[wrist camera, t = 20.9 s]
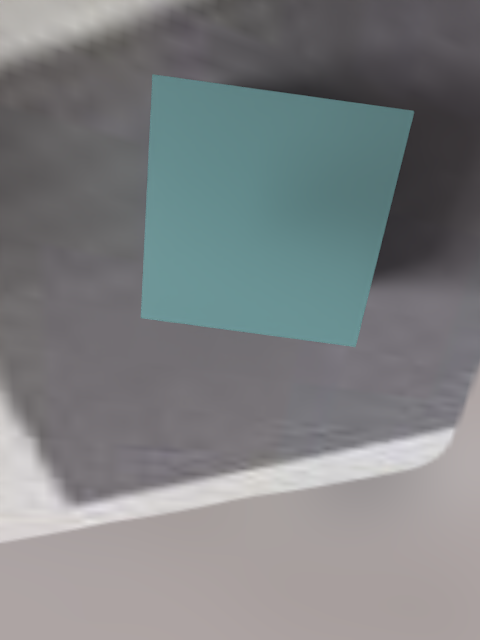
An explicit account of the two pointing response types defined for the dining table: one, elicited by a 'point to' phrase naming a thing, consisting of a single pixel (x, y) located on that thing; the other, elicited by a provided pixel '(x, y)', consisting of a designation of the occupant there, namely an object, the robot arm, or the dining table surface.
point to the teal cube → (266, 208)
